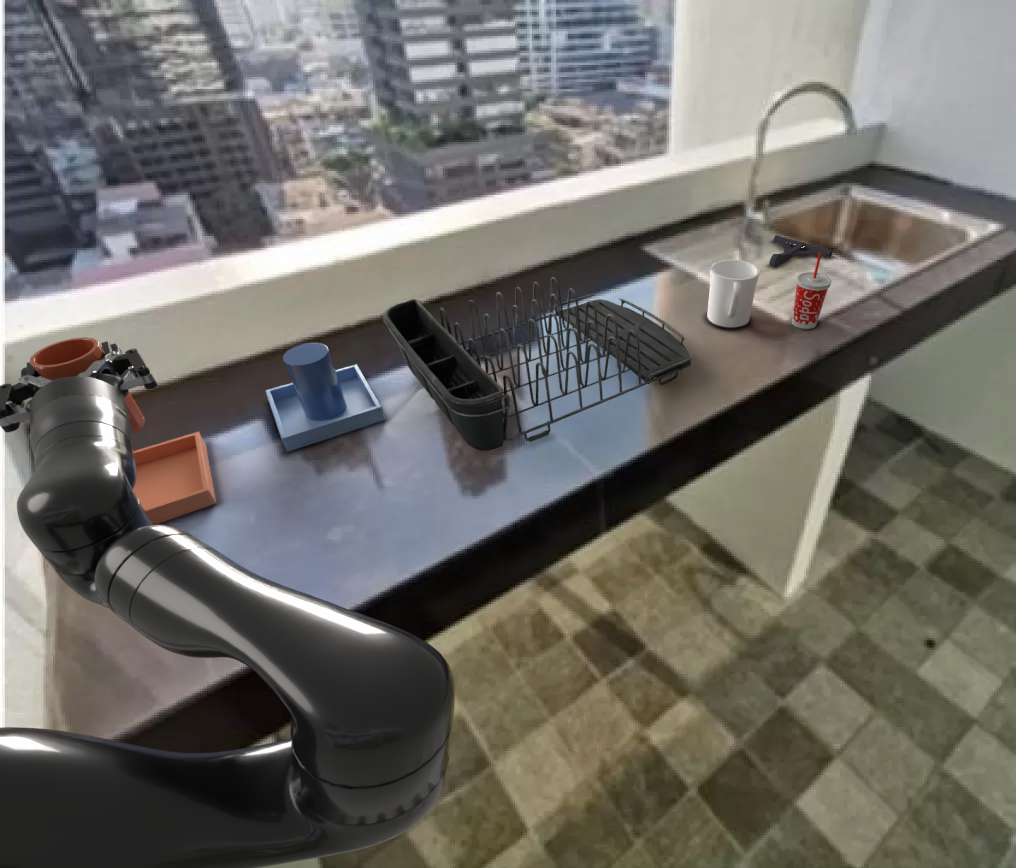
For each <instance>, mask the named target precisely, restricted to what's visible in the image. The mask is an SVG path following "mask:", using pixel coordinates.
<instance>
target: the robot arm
mask: <svg viewBox="0 0 1016 868" xmlns="http://www.w3.org/2000/svg"><path fill="white" fill-rule="evenodd" d="M100 345H101V347H102V348H103V355H104V356H105V357H104V358H103V359H102V360H98V361H94V362H93V363H92V364H91V365H90V366H89V368H88V369H87V370H86V371H85V372H81V373H80V374H78V375H76V376H73V377H65V378H60V379H57V380H53V381H52V380H49V379H47V378H44V377H42V376H38V374H37V373H36V371H35V370H34V369H33V367H32V366H31V364H30V363H29V362H30V361H28V362H26V367H23V368H22V369H21V370H20V377H19V378H18V379H17V381H18V383H16V384H13V385H12V384H11V383H3V384H1V385H0V428H1V429H2V430H3V431H4V433H12V432H14V431H17V430H19V428H20V425H21V423H24V422H25V421H29V434H28V435H29V436H28V440H29V444H30V448H31V452H32V455H33V458H34V462H33V463H34V465H33V467H34V472H33V473H32V475H31V476H30V478H29V479H28V481H27V483H26V484H25V486H24V487H23V488H22V490H21V491H20V493H19V496H18V498H17V501H16V512H17V517H18V521H19V524H20V526H21V528H22V530H23V532H24V533H25V534H26V536H27V538H28V539H29V540H30V542H32V544H33V545H34V546H35V548H36V549H37V551H39V553H40V554H41V555H42V556H43V558H44V559H45V560H46V561H47V562H48V564H49V565H50V567H51V568H52V569H53V570H54V572H55V573H56V575H57V576H58V577H59V578H60V579H61V580H62V581H63V582H64V583H65V584H66V585H67V586H68V587H69V588H70V589H72V590H73V591H74V592H75V593H77V594H78V595H79V596H81V597H83V598H84V599H86V600H88V601H90V602H92V603H94V604H97V605H99V606H102V607H103V608H106V609H109V610H110V611H112V612H113V613H114V614H115V615H116V616H118V617H119V618H120V619H121V620H123V621H124V622H125V623H126V624H128V625H129V627H131V628H132V629H134V630H135V631H136V632H138V633H139V634H140V635H142V636H143V637H145V638H146V639H148V640H149V641H150V642H152V643H153V644H155V645H156V646H158V647H159V648H162V649H164V650H166V651H169V652H171V653H173V654H176V655H181V656H184V657H188V658H195V659H196V658H200V659H203V658H204V659H216V658H219V659H220V658H228V659H233V660H235V661H238V662H239V663H241V664H243V665H245V666H246V667H248V668H249V669H251V670H252V671H253V672H254V673H255V674H257V676H258V677H259V678H261V679H262V680H263V681H264V683H266V684H267V686H268V687H269V688H270V689H271V690H272V692H273V693H275V694H276V696H277V697H278V698H279V699H280V701H281V702H282V703H283V705H284V706H285V707H286V709H287V710H288V711H289V713H290V714H291V718H290V719H291V721H290V738H287V739H283V740H279V741H275V742H271V743H265V744H259V745H253V746H248V747H243V748H237V749H230V750H222V751H212V752H185V751H171V750H165V749H159V748H152V747H148V746H147V747H146V746H142V745H136V744H130V743H126V742H123V741H118V740H113V739H109V738H103V737H100V736H99V737H98V736H94V735H88V734H82V733H76V732H71V731H65V730H57V729H51V728H50V729H49V728H38V727H21V726H20V727H19V726H18V727H15V726H6V727H5V726H4V727H3V726H2V727H0V868H267V867H272V866H278V865H279V866H280V865H285V864H290V863H297V862H302V861H308V860H313V859H320V858H325V857H330V856H336V855H340V854H346V853H350V852H355V851H359V850H363V849H367V848H370V847H373V846H376V845H379V844H381V843H384V842H387V841H390V840H392V839H394V838H396V837H398V836H400V835H402V834H404V833H405V832H407V831H408V830H409V829H411V828H412V827H414V826H416V825H417V824H419V822H420V821H421V820H423V819H424V818H425V817H426V816H427V815H428V814H429V813H430V811H432V809H433V808H434V806H435V805H436V804H437V802H438V800H439V799H440V797H441V795H442V793H443V790H444V787H445V784H446V782H447V781H446V780H447V776H448V771H449V770H448V768H449V761H450V755H451V746H452V736H453V727H454V725H453V724H454V717H455V716H454V715H455V701H456V700H455V696H456V687H455V686H456V685H455V679H454V675H453V672H452V669H451V666H450V664H449V663H448V661H447V659H446V658H445V657H444V656H443V654H442V653H441V652H440V651H439V650H437V648H435V647H434V646H432V645H431V644H429V643H428V642H427V641H425V640H423V639H422V638H420V637H418V636H417V635H414V634H412V633H411V632H408V631H406V630H405V629H404V630H403V629H402V628H399V627H396V626H394V625H392V624H389V623H386V622H384V621H382V620H379V619H376V618H374V617H370V616H369V615H365V614H363V613H360V612H356V611H354V610H352V609H349V608H346V607H343V606H341V605H338V604H336V603H333V602H330V601H327V600H324V599H322V598H319V597H317V596H314V595H311V594H308V593H305V592H302V591H300V590H297V589H294V588H292V587H291V588H290V587H288V586H286V585H283V584H280V583H278V582H275V581H273V580H270V579H268V578H266V577H264V576H261V575H259V574H258V573H256V572H253V571H251V570H249V569H248V568H246V567H244V566H242V565H241V564H239V563H237V562H236V561H234V560H232V559H231V558H229V557H228V556H226V555H225V554H223V553H222V552H220V551H219V550H217V549H215V548H214V547H212V546H211V545H209V544H208V543H206V542H204V541H203V540H201V539H200V538H198V537H196V536H195V535H193V534H191V533H189V532H188V531H186V530H183V529H181V528H178V527H175V526H172V525H166V524H156V525H153V523H152V521H151V520H150V519H149V517H148V515H147V513H146V512H145V510H144V508H143V506H142V505H141V503H140V501H139V500H138V498H137V496H136V495H135V493H134V491H133V488H134V486H135V484H136V477H137V469H136V462H135V457H134V453H133V451H134V448H133V447H134V435H133V434H132V429H131V424H130V420H129V415H128V411H127V407H126V402H125V397H126V396H127V394H128V392H130V390H131V389H135V388H137V387H144V388H145V390H153V389H155V388H157V387H158V382H157V380H156V379H155V377H154V375H153V373H152V371H151V370H150V368H149V367H148V365H147V363H146V361H145V359H144V358H143V357H142V355H141V353H140V351H139V349H137V348H130V349H127V350H126V351H125V352H124V353H123V351H122V350H121V348H120V346H119V345H118V344H117V343H111V342H110V341H109V340H107V341H103V342H101V343H100ZM28 399H30V400H28ZM27 400H28V401H27ZM25 401H27V402H25Z"/></svg>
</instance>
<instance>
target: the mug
mask: <svg viewBox="0 0 1016 868" xmlns="http://www.w3.org/2000/svg"><path fill="white" fill-rule="evenodd" d="M760 271H761V270H760V268H759V266H757V265H756V264H754V263H752V262H750V261H747V260H742V259H722V260H718V261H715V262H713V263H712V264H711V265H710V270H709V291H708V294H709V295H708V304H707V311H706V312H707V315H706V319H707V321H708V323H709V324H710V325H711V326H713V327H716V328H718V329H722V330H728V331H731V330H732V331H733V330H735V331H736V330H741V329H743V328H745V327H746V326H747V325H748V324H749V323H750V320H751V319H750V318H751V313H752V309H753V303H754V298H755V294H756V288H757V284H758V281H759V277H760V273H761V272H760Z"/></svg>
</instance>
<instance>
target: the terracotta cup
mask: <svg viewBox="0 0 1016 868" xmlns="http://www.w3.org/2000/svg"><path fill="white" fill-rule="evenodd" d="M104 357H105V356H104V355H103V348H102V344H101V343H100V342H99V341H98V340H97V339H96V338H93V337H85V336H84V337H73V338H69V339H64V340H60V341H57V342H54V343H51V344H49V345H46V346H44V347H42V348H41V349H39V350H37V351H35V353H34V354H32V355H31V356H30V357H29V361H28V362H29V363H30V364H31V366H32V367H33V369H34V370H35V371H36V373H37V374H38V376H42V377H44V378H47V379H49V380H52V381H53V380H57V379H60V378H65V377H73V376H76V375H78V374H80V373H81V372H85V371H86V370H87V369H88V368H89V366H90V365H91V364H92V363H93V362H94V361H98V360H102V359H103V358H104ZM125 402H126V407H127V411H128V415H129V420H130V424H131V429H132V434H133V436H134V435H136V434H137V433H138V432H139V431H141V430H142V429H143V427H144V426H145V424H146V418H145V416H144V413H143V412H142V411H141V408H140V407H139V405H138V404H137V402H136V400H135V398H134V397H133V396H132V394H131V393H130V391H129V392H128V394H127V396H126V397H125Z"/></svg>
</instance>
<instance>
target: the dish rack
mask: <svg viewBox="0 0 1016 868" xmlns="http://www.w3.org/2000/svg"><path fill="white" fill-rule="evenodd" d="M549 281H550V283H549V284H550V296H549V313H548V315H546V309H545V302H544V294H543V293H544V292H543V289H542V286H541V284H540V283H539V282H538V281H534V282H533V283H532V284H533V285H532V300H531V318H529V319H528V314H527V307H526V306H527V305H526V301H525V294H524V291H523V289H522V288H521V287H520V286H516V287H515V288H514V295H515V296H514V297H515V298H514V299H515V302H514V303H515V304H514V305H512V308H511V310H512V311H511V314H512V326H510V323H509V317H508V311H507V305H506V300H505V297H504V295H503V294H502V293H501V292H500V291H499V292H496V295H495V298H496V299H495V300H496V301H495V302H496V315H497V316H496V317H497V329H498V330H497V331H495V327H494V323H493V320H492V318H491V316H490V315H489V314H488V313H485V314H484V315H483V319H484V320H483V322H484V334H483V331H482V325H481V321H480V317H479V311H478V307H477V304H476V302H475V301H474V300H473V299H469V300H468V309H469V318H470V328H471V336H472V338H468V339H467V340H465V338H464V334H463V333H464V332H463V330H462V327H461V325H460V324H459V323H458V321H457V322H454V324H453V330H454V336H455V338H454V337H453V332H452V328H451V324H450V319H449V316H448V313H447V311H446V309H445V308H444V307H440V308H439V316H440V323H441V324H440V323H439V321H438V320H436V319H435V317H434V316H433V315H432V314H431V313H430V311H428V309H426V307H425V306H424V305H423V304H422V301H421V300H419V299H417V298H415V299H414V298H412V299H409V300H405V301H402V302H399V303H395V304H394V305H392V306H390V307H388V308H387V309H386V310H385V311H384V312H383V314H382V321H383V323H384V324H385V326H386V327H387V328H388V330H389V332H390V334H391V335H392V336H393V338H394V339H395V340H396V344H397V346H398V349H399V351H400V353H401V356H402V358H403V360H404V362H405V365H406V366H407V367H408V369H409V370H410V372H411V373H412V375H413V376H414V377H415V378H416V379H417V381H418V382H419V383H420V385H421V387H423V389H424V390H425V391H426V393H427V394H428V396H430V398H431V399H432V400H433V401H434V403H435V405H436V406H437V407H438V408H439V409H440V411H441V412H442V413H443V415H444V416H445V418H446V419H447V420H448V422H449V423H450V424H451V425H452V426H453V427H454V428H455V430H456V432H457V433H458V434H459V435H460V437H461V438H462V439H463V440H464V442H465V443H466V444H467V445H468V447H469V446H470V448H472V449H474V450H477V451H484V452H486V451H493V450H497V449H499V448H502V447H504V442H509V441H511V440H514V439H517V438H519V437H521V436H524V439H525V441H526V442H529V443H531V442H533V441H537V440H539V439H542V438H544V437H546V436H549V435H550V432H551V431H552V430H551V429H552V428H551V425H552V424H554V423H558V422H560V421H562V420H565V419H567V418H570V417H572V416H575V415H577V414H579V413H582V412H585V411H586V410H589V409H591V408H594V407H596V406H598V405H601V404H603V403H606V402H608V401H610V400H613V399H615V398H618V397H621V396H623V395H625V394H627V393H629V392H632V391H634V390H636V389H639V388H642V387H644V386H646V385H650V384H651V383H653V382H656V381H658V385H659V386H665V385H668V384H669V383H671V382H673V381H676V380H677V379H678V377H679V372H682V371H683V370H686V369H687V368H690V367H692V361H693V356H691V354H690V352H689V350H688V349H687V348H686V346H685V345H684V340H685V336H684V335H683V334H682V333H680V332H679V331H678V330H676V329H675V328H674V327H672V326H671V325H670V324H668V323H667V322H665V321H664V320H662V319H661V318H659V317H658V316H656V315H655V314H653V313H651V312H649V311H648V310H646V309H644V308H642V307H641V306H638V305H637V304H634V303H632V302H630V301H628V300H626V299H624V298H621V297H619V298H618V300H620V302H621V303H620V305H619V304H617V303H615V302H612V301H610V300H606V299H600V298H598V299H594V300H587V301H586V302H584V303H581V304H579V301H582V300H585V299H588V298H592V297H594V296H595V295H596V294H595V293H590V294H587V295H583V296H579V297H578V293H577V292H576V290H575V289H574V288H572V287H570V288H569V289H568V292H567V300H566V301H562V298H561V297H562V296H561V290H560V283H559V280H558V279H557V278H556V277H555V276H552V277H551V278H550V280H549ZM554 282H555V284H556V286H557V295H556V294H555V293H554ZM536 285H537V288H538V289H539V293H540V303H539V301H538V300H537V299H536ZM518 291H519V293H520V294H521V300H522V309H523V315H524V321H525V322H523V318H522V313H521V310H520V308H519V305H518V298H519V297H518ZM571 292H572V293H573V295H574V298H573V299H571ZM499 297H500V299H501V301H502V306H503V310H504V316H505V318H504V319H505V323H506V327H505V328H502V327H501V315H500V301H499V300H500V299H499ZM554 299H555V302H556V304H555V305H554ZM574 302H575V305H574V306H571V303H574ZM624 304H627V305H629V306H631V307H632V308H634V309H636V310H638V311H640V312H641V313H642V314H640V313H638V312H637V311H635V310H632V309H631V308H629V307H626V306H624ZM472 305H473V307H472ZM565 305H566V306H567V307H566V308H563V306H565ZM472 308H474V311H475V316H476V322H477V326H478V327H477V328H478V331H479V336H478V337H477V336H476V337H475V326H474V317H473V309H472ZM536 308H537V310H538V318H537V316H536V315H537V314H536V311H537V310H536ZM554 312H555V313H554ZM645 314H646V315H647V316H649V317H650V318H652V319H654V320H656V321H657V322H658V323H660V324H661V326H660V325H659V324H657V323H656V322H654V321H653V320H651V319H649V317H646V316H645ZM542 315H543V316H542ZM444 318H445V320H444ZM487 319H488V320H489V323H490V330H491V332H490V333H488V320H487ZM547 319H548V320H547ZM553 319H554V320H555V325H556V326H555V327H556V332H553V329H552V328H553V327H552V325H553V323H552V322H553ZM547 321H548V323H547ZM445 322H446V328H447V329H446V328H445ZM537 322H539V326H540V333H539V327H538V324H537ZM543 322H544V323H543ZM565 322H566V323H565ZM543 324H544V325H543ZM524 326H526V332H527V338H528V341H526V339H525V333H524V331H525V330H524ZM570 326H571V327H570ZM519 328H520V334H521V340H522V343H521V342H520V343H518V344H516V329H519ZM665 328H666V329H668V330H670V331H671V332H672V333H673V334H675V335H676V336H678V337H679V338H680V340H679V339H677V338H676V337H675V336H674V335H673V334H671V333H670V332H669V331H667V330H666V329H665ZM544 329H545V333H546V335H545V334H544ZM511 330H512V334H511ZM458 331H459V334H458ZM552 332H553V333H552ZM564 332H566V334H565V335H566V336H565V341H564ZM571 332H573V334H574V337H575V344H573V345H570V343H571V341H570V339H571V335H570V334H571ZM535 333H536V338H535ZM497 334H498V335H499V350H498V345H497V340H496V335H497ZM503 335H504V337H505V339H506V345H507V347H505V348H504V345H503ZM540 335H541V336H540ZM555 335H557V339H556V338H555ZM582 335H583V337H582ZM459 336H460V340H461V341H459ZM489 337H492V340H493V342H492V343H493V348H494V351H493V352H490V351H489V350H490V349H489ZM545 338H546V340H545ZM484 339H485V341H484ZM551 340H552V341H553V343H554V347H555V351H553V352H551ZM476 341H480V342H481V346H482V351H483V353H484V355H480V354H479V349H478V346H477V344H476ZM536 341H537V348H538V356H537V357H534V358H532V343H533V342H536ZM541 342H542V344H541ZM590 342H593V343H590ZM466 344H468V347H467V346H466ZM526 344H528V352H527V345H526ZM584 344H585V350H584V359H583V353H582V345H584ZM542 347H543V352H542ZM574 347H576V354H575V353H574V352H573V351H571V350H570V349H571V348H574ZM592 347H593V349H594V350H595V353H596V357H594V358H593V359H591V348H592ZM473 348H474V352H475V356H476V357H474V355H473ZM515 348H516V364H514V361H513V354H512V349H515ZM600 348H601V349H602V352H601V349H600ZM520 350H521V351H522V353H523V355H524V360H525V361H523V362H521V360H520V359H521V358H520V357H521V356H520ZM505 351H507V352H508V357H509V364H510V366H508V367H505V365H504V352H505ZM563 351H566V355H565V365H564V359H563V358H564V357H563ZM499 353H500V354H499ZM543 353H544V354H543ZM492 355H495V359H496V364H497V368H498V370H496V368H495V363H494V361H493V359H492V357H490V356H492ZM499 355H500V356H499ZM551 355H555V358H556V368H557V371H556V372H553V373H551V374H550V373H549V372H550V371H549V369H550V368H549V365H550V356H551ZM570 355H571V356H572V358H573V360H574V365H572V366H570ZM610 356H611V357H612V358H614V359H615V360H616V367H617V370H618V371H617V373H614V374H613V375H610V376H607V375H608V367H609V358H610ZM499 357H500V358H499ZM545 357H546V360H545V361H546V363H545V365H544V359H543V358H545ZM483 358H484V368H485V369H483V367H482V361H481V359H483ZM602 358H605V365H604V373H603V375H602V369H601V368H602V367H601V359H602ZM537 360H539V361H537ZM476 361H477V362H476ZM534 361H537V362H536V364H535V379H534V380H532V378H531V372H530V371H531V370H530V365H529V363H531V362H534ZM594 361H596V362H597V377H598V378H597V379H598V380H597V381H593V382H592V383H589V384H588V380H589V370H590V363H592V362H594ZM489 364H490V368H491V372H489ZM522 365H525V367H526V375H527V382H526V383H524V384H521V366H522ZM583 365H586V366H585V376H584V383H583V375H582V366H583ZM539 366H540V367H539ZM504 367H505V368H504ZM516 367H517V370H516V371H517V378H516V373H515V368H516ZM539 368H540V371H541V374H542V377H539V375H540V373H539ZM561 368H562V369H561ZM574 368H575V375H576V384H577V388H575V389H573V390H570V391H568V389H569V370H572V369H574ZM510 369H511V374H512V378H511V377H510V375H509V374H506V373H505V374H503V375H502V384H503V385H502V386H503V387H502V386H501V385H500V384H499V382H498V377H497V374H498V373H501V372H504V371H507V370H510ZM630 371H631V372H632V374H634V375H636V376H637V379H638V384H637V385H635V386H632V387H630V388H627V389H625V390H623V376H622V374H624V373H627V372H630ZM564 372H565V378H564V389H563V381H562V373H564ZM673 374H675V375H674V376H673V377H670V378H668V379H666V380H664V381H662V380H663V379H664V378H666V377H668V376H672V375H673ZM555 375H558V384H559V386H558V387H559V390H560V393H561V394H560V395H558V396H555V397H552V398H551V393H550V385H549V377H553V376H555ZM492 376H493V377H492ZM613 377H617V378H618V387H619V388H618V389H619V392H618V393H615V394H612V395H610V396H607V397H605V398H603V396H604V395H603V382H604V381H606V380H609V379H612V378H613ZM516 379H517V380H516ZM543 380H544V384H545V385H544V386H545V390H546V391H545V392H546V399H547V400H544V401H542V402H539V401H540V400H539V399H540V398H539V392H540V391H539V390H540V389H539V388H540V387H539V386H540V385H539V383H540V381H543ZM507 381H508V383H509V389H508V387H507ZM642 381H643V382H642ZM533 383H535V398H534V393H533V385H532V384H533ZM596 384H598V389H599V400H598V401H595V402H592V403H591V404H588V405H586V406H583V396H582V395H583V394H582V390H583V389H586V388H588V387H591V386H593V385H596ZM526 386H528V388H529V396H530V401H531V404H532V405H531V406H529V407H526V408H523V409H521V410H519V408H518V402H517V395H516V391H515V390H517V389H520V388H524V387H526ZM509 392H511V397H510V395H509V394H508V393H509ZM576 392H578V394H577V395H578V403H579V407H580V408H578V409H576V410H574V411H570V412H568V413H566V414H563V415H561V416H559V417H556V418H554V416H553V406H552V401H555V400H558V399H560V398H563V397H566V396H568V395H571V394H573V393H576ZM511 398H512V403H513V407H514V412H513V413H511V414H510V408H511V405H510V401H511V400H510V399H511ZM503 403H504V405H503ZM545 404H547V406H548V413H549V420H547V421H546V422H544V423H542V424H541V423H540V424H537V425H535V426H533V427H531V428H527V429H525V430H523V431H522V426H521V419H520V414H522V413H524V412H527V411H529V410H532V409H534V408H537V407H539V406H540V407H541V406H543V405H545ZM514 416H515V419H516V425H517V430H518V432H517V433H516V434H512V435H511V436H508V426H509V418H513V417H514ZM545 427H547V430H543V431H541V432H540V433H537V434H533V435H531V436H528V435H527V434H529V433H532V432H534V431H537V430H540V429H542V428H545Z"/></svg>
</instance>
